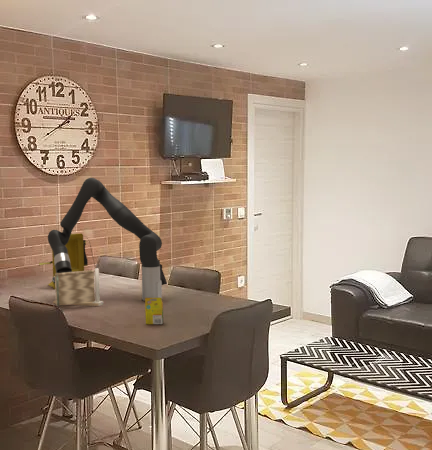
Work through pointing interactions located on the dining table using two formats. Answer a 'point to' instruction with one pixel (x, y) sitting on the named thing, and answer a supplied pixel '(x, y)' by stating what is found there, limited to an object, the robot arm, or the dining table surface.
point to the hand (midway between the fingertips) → (67, 293)
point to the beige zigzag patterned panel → (74, 287)
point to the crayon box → (154, 311)
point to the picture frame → (97, 293)
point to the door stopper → (162, 276)
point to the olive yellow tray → (73, 255)
